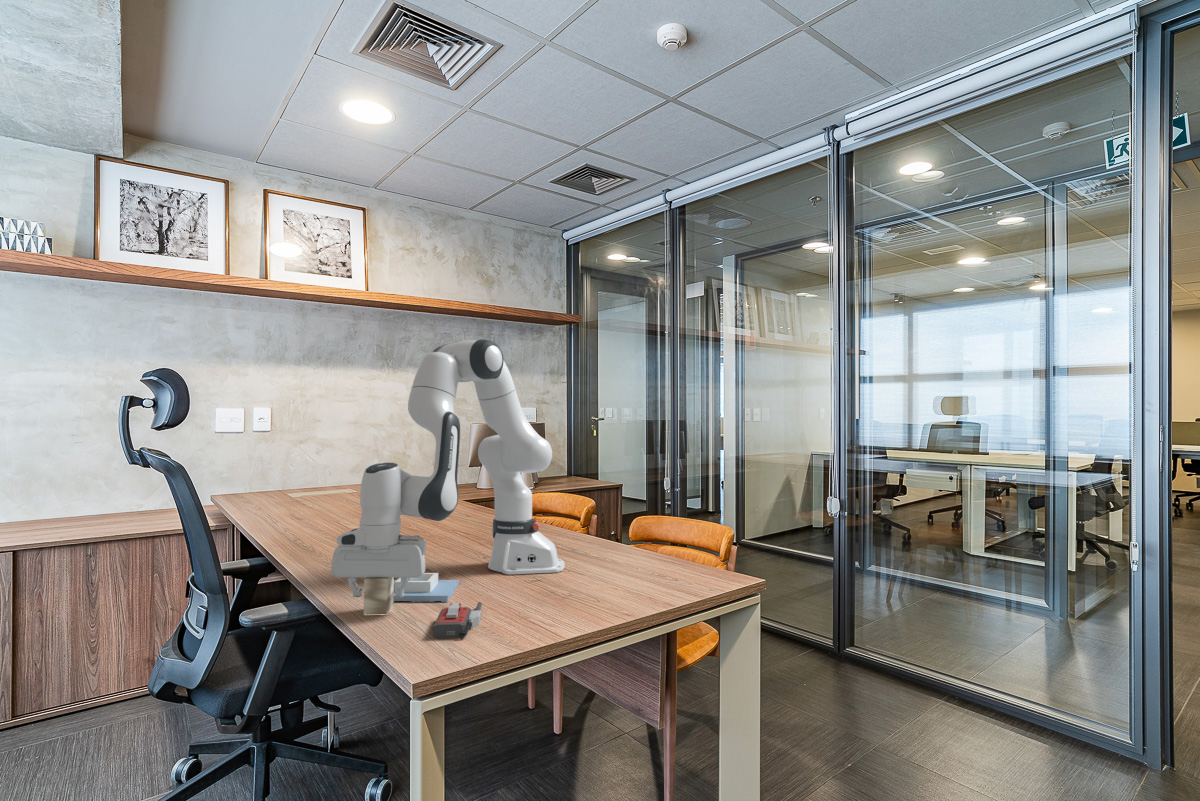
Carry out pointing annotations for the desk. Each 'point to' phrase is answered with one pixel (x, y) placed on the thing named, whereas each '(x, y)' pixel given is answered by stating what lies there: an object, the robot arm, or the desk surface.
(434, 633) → the walkie-talkie
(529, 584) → the desk surface
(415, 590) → the base plate
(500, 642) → the desk surface
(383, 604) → the block
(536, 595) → the desk surface
